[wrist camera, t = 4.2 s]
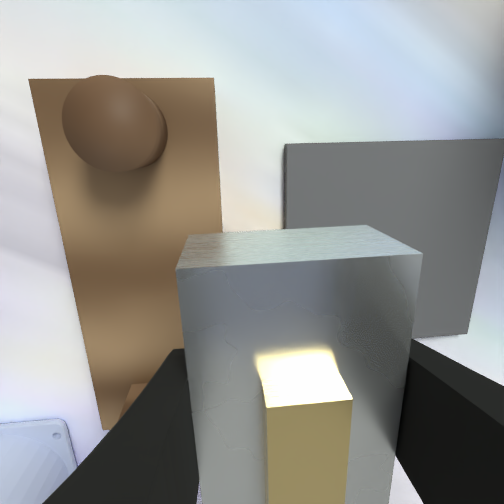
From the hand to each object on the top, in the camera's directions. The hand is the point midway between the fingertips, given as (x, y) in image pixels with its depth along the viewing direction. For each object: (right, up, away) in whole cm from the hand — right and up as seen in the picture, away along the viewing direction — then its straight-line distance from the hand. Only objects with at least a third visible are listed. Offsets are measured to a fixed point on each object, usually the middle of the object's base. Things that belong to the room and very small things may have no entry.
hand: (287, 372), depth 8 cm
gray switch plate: (+7, +3, +10) cm, 13 cm away
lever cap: (0, 0, +1) cm, 1 cm away
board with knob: (-6, +3, +9) cm, 11 cm away
